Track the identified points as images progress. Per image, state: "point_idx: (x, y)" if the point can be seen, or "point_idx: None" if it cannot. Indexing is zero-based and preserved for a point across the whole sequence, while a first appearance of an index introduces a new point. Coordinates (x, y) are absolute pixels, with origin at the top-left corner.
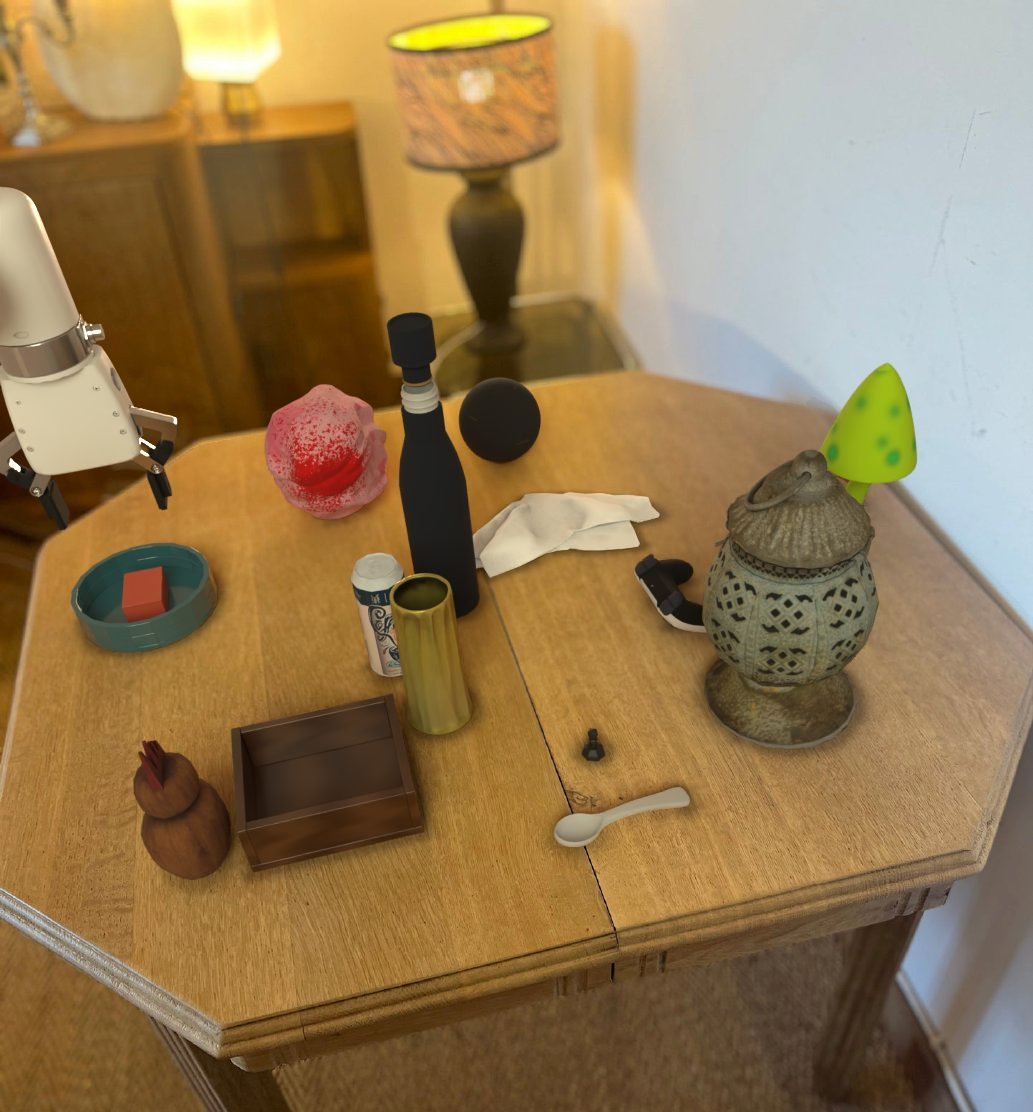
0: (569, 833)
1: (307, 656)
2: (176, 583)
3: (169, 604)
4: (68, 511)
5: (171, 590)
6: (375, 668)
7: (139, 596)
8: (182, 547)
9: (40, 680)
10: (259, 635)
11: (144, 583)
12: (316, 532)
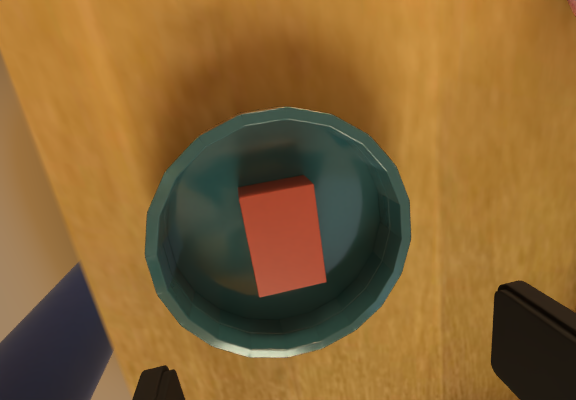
0: None
1: (491, 333)
2: (318, 175)
3: None
4: (174, 379)
5: None
6: None
7: (286, 270)
8: (356, 137)
9: (140, 368)
10: (439, 295)
11: (288, 235)
12: (547, 41)
